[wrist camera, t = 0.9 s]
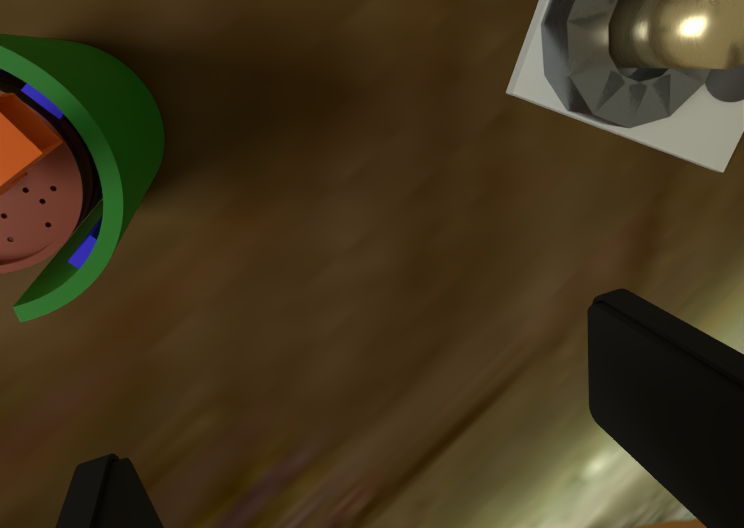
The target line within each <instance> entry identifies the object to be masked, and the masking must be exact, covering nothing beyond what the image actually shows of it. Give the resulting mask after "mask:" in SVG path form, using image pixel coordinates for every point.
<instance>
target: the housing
mask: <svg viewBox="0 0 744 528" xmlns="http://www.w3.org/2000/svg"><path fill="white" fill-rule="evenodd" d="M617 1H618V0H549V3H548V6H547V8H546V11H545V14H544V17H543V19H542V22H541V37H542V52H543V67H544V76H545V77H546V79H547V81H548V82H549V84H550V85H551V87H552V88H553V90H554V91H555V93H556V95H557V96H558V98H559V99H560V101H561V102H562V104H563V106H564V107H565V109H566V110H567V111H569V112H571V113H574V114H576V115H579V116H582V117H584V118H587V119H590V120H592V121H595V122H598V123H600V124H605V125H611V126H617V127H624V128H633V127H636V126H640V125H643V124H647V123H650V122H654V121H657V120H661V119H664V118H667V117H670V116H671V115H672V114H673V113H674V112H675V111H676V110H677V109H678V108H679V107H680V106H681V105H682V104H683V103H685V102H686V101H687V100H688V99H689V98H690V97H691V96H692V95H693V94H694V93H695V92H696V91H697V90H698V89H699V88H700V87H701V86H702V85H703V84H704V83H705V81H706V79H707V77H708V74H709V72H710V70H711V69H662V68H638V69H637V70H636V71H635V72H633V73H632V74H631V75H630V76H627V77H626V76H623V75H621V74H620V73H619V71H618V69H617V68H616V66H615V64H614V62H613V60H612V59H611V57H610V55H609V50H608V24H609V21H610V19H611V16H612V14H613V11H614V9H615V6H616V4H617Z"/></svg>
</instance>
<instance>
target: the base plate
mask: <svg viewBox="0 0 744 528" xmlns="http://www.w3.org/2000/svg"><path fill="white" fill-rule="evenodd" d="M548 3H549V0H539V2H538V5H537V7H536V10H535V13H534V16H533V19H532V21H531V24H530V27H529V30H528V32H527V35H526V38H525V41H524V43H523V46H522V49H521V52H520V55H519V57H518V60H517V63H516V66H515V68H514V71H513V74H512V77H511V79H510V82H509V85H508V88H507V91H506V93H507V94H510V95H513V96H515V97H518V98H521V99H523V100H526V101H529V102H531V103H534V104H537V105H539V106H542V107H545V108H547V109H550V110H553V111H555V112H558V113H561V114H563V115H566V116H569V117H571V118H574V119H577V120H579V121H582V122H585V123H588V124H590V125H593V126H596V127H598V128H601V129H604V130H606V131H609V132H612V133H614V134H617V135H620V136H622V137H625V138H628V139H630V140H633V141H636V142H638V143H641V144H644V145H646V146H649V147H652V148H654V149H657V150H660V151H662V152H665V153H668V154H670V155H673V156H676V157H679V158H681V159H684V160H687V161H689V162H692V163H695V164H697V165H700V166H703V167H705V168H708V169H711V170H713V171H718V172H724V170H725V168H726V166H727V164H728V162H729V160H730V158H731V156H732V154H733V152H734V150H735V148H736V146H737V144H738V142H739V140H740V138H741V135H742V133H743V131H744V64H743V65H741V66H739V67H737V68H733V69H711V70H710V72H709V74H708V77H707V79H706V81H705V83H704V84H703V85H702V86H701V87H700V88H699V89H698V90H697V91H696V92H695V93H694V94H693V95H692V96H691V97H690V98H689V99H688V100H687V101H686V102H685V103H683V104H682V105H681V106H680V107H679V108H678V109H677V110H676V111H675V112H674V113H673V114H672V115H671V116H670V117H667V118H664V119H661V120H657V121H654V122H650V123H647V124H643V125H640V126H636V127H633V128H624V127H617V126H611V125H605V124H600V123H598V122H595V121H592V120H590V119H587V118H584V117H582V116H579V115H576V114H574V113H571V112H569V111H567V110H566V109H565V107H564V106H563V104H562V102H561V101H560V99H559V98H558V96H557V95H556V93H555V91H554V90H553V88H552V87H551V85H550V84H549V82H548V81H547V79H546V77H545V76H544V67H543V52H542V37H541V22H542V19H543V17H544V14H545V11H546V8H547V6H548ZM617 69H618V71H619V73H620V74H621V75H623V76H626V77H627V76H630V75H631V74H632V73H633V72H635V71H636V70H637V69H638V68H617Z"/></svg>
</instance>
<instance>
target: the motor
mask: <svg viewBox="0 0 744 528" xmlns="http://www.w3.org/2000/svg"><path fill="white" fill-rule="evenodd" d="M164 146H165V134H164V126H163V121H162V117H161V114H160V111H159V109H158V106H157V104H156V102H155V100H154V98H153V96H152V94H151V93H150V91H149V90H148V88H147V87H146V86H145V84H144V83H143V82H142V81H141V79H140V78H139V77H138V76H137V75H136V74H135V73H134V72H133V71H132V70H131V69H130V68H128V67H127V66H126V65H125V64H124V63H122V62H121V61H119V60H118V59H116V58H115V57H113V56H112V55H110V54H108V53H106V52H104V51H102V50H100V49H98V48H95V47H92V46H90V45H86V44H83V43H79V42H74V41H68V40H58V39H48V38H38V37H28V36H18V35H8V34H0V273H7V272H12V271H17V270H21V269H24V268H27V267H30V266H32V265H35V264H37V263H39V262H41V261H43V260H44V259H46V258H48V257H49V256H51V255H52V254H53V253H54V252H56V251H57V250H58V249H59V248H60V247H61V246H62V245H63V244H64V243H65V242H66V241H67V239H68V238H69V237H70V236H71V235H72V233H73V232H74V231H75V230H76V229H77V227H78V226H79V225H80V224H81V223H82V221H83V220H84V219H85V218H86V217H87V216H88V214H89V213H90V212H91V211H92V209H93V208H94V207H95V206H96V205H97V204H98V202H99V201H100V200H101V199H102V198H103V201H100V202H99V204H98V205H97V206H96V207H95V209H94V210H93V211H92V212H91V213H90V215H89V216H88V217H87V218H86V219H85V221H84V222H83V223H82V224H81V225H80V227H79V228H78V229H77V230H76V231H75V233H74V234H73V235H72V236H71V237H70V239H69V240H68V241H67V242H66V244H65V245H64V246H63V247H62V248H61V250H60V251H59V252H58V253H57V254H56V256H55V257H54V258H53V259H52V260H51V262H50V263H49V264H48V265H47V266H46V268H45V269H44V270H43V271H42V272H41V274H40V275H39V276H38V277H37V279H36V280H35V281H34V282H33V283H32V285H31V286H30V287H29V288H28V289H27V291H26V292H25V293H24V294H23V295H22V297H21V298H20V299H19V300H18V301H17V303H16V304H15V305H14V306H13V308H14V310H15V312H16V315H17V317H18V319H19V321H20V322H24V321H28V320H31V319H34V318H37V317H40V316H43V315H45V314H47V313H50V312H52V311H54V310H56V309H58V308H60V307H62V306H63V305H65V304H67V303H68V302H70V301H71V300H73V299H74V298H76V297H77V296H78V295H80V294H81V293H82V292H83V291H84V290H85V289H87V288H88V287H89V286H90V285H91V284H92V283H93V282H94V281H95V279H96V278H97V277H98V276H99V275H100V273H101V272H102V271H103V269H104V268H105V266H106V265H107V263H108V261H109V260H110V258H111V256H112V254H113V252H114V251H115V249H116V247H117V245H118V243H119V241H120V240H121V238H122V236H123V234H124V232H125V230H126V229H127V227H128V225H129V223H130V221H131V219H132V218H133V216H134V214H135V212H136V210H137V208H138V207H139V205H140V203H141V201H142V199H143V198H144V196H145V194H146V192H147V190H148V188H149V187H150V185H151V183H152V181H153V179H154V177H155V176H156V174H157V172H158V170H159V167H160V165H161V162H162V158H163V154H164Z"/></svg>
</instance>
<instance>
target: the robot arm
mask: <svg viewBox="0 0 744 528" xmlns="http://www.w3.org/2000/svg"><path fill="white" fill-rule="evenodd" d="M588 370H589V409H590V412H591V415H592V417H593V418H594V420H595V421H596V423H597V424H598V425H599V426H600V427H601V428H602V429H603V430H604V431H606V432H607V433H608V434H609V435H610V436H611V437H612V438H613V439H614V440H615V441H616V442H617V443H618V444H619V445H620V446H621V447H622V448H623V449H625V450H626V451H627V452H628V453H629V454H630V455H631V456H632V457H633V458H634V459H635V460H636V461H637V462H638V463H639V464H640V465H641V466H642V467H644V468H645V469H646V470H647V471H648V472H649V473H650V474H651V475H652V476H653V477H654V478H655V479H656V480H657V481H658V482H659V483H660V484H662V485H663V486H664V487H665V488H666V489H667V490H668V491H669V492H670V493H671V494H672V495H673V496H674V497H675V498H676V499H677V500H678V501H679V502H681V503H682V504H683V505H684V506H685V507H686V508H687V509H688V510H689V511H690V512H691V513H692V514H693V515H694V516H695V517H696V518H697V519H698V520H700V521H701V522H702V523H703V524H704V525H705V526H706V527H707V528H744V355H743V354H742V353H740V352H738V351H736V350H734V349H733V348H731V347H729V346H727V345H725V344H724V343H722V342H720V341H718V340H716V339H715V338H713V337H711V336H709V335H707V334H706V333H704V332H702V331H700V330H698V329H697V328H695V327H693V326H691V325H689V324H688V323H686V322H684V321H682V320H680V319H679V318H677V317H675V316H673V315H671V314H670V313H668V312H666V311H664V310H662V309H661V308H659V307H657V306H655V305H653V304H652V303H650V302H648V301H646V300H644V299H643V298H641V297H639V296H637V295H635V294H634V293H632V292H630V291H628V290H626V289H617V290H614V291H611V292H608V293H605V294H602V295H599V296H597V297H595V298H594V300H593V304H592V305H591V306H590V307H589V308H588ZM56 528H164V527H163V525H162V523H161V521H160V519H159V517H158V515H157V513H156V511H155V509H154V507H153V505H152V503H151V501H150V499H149V497H148V495H147V493H146V491H145V489H144V487H143V485H142V483H141V481H140V478H139V476H138V474H137V472H136V470H135V468H134V466H133V464H132V462H131V461H130V460H129V459H128V458H123V459H119V458H118V456H116V455H115V454H109V455H106V456H103V457H100V458H97V459H94V460H90V461H87V462H84V463H81V464H79V465H78V466H77V467H76V469H75V472H74V475H73V478H72V481H71V484H70V486H69V489H68V492H67V495H66V498H65V501H64V504H63V507H62V510H61V513H60V516H59V519H58V522H57V525H56Z"/></svg>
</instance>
